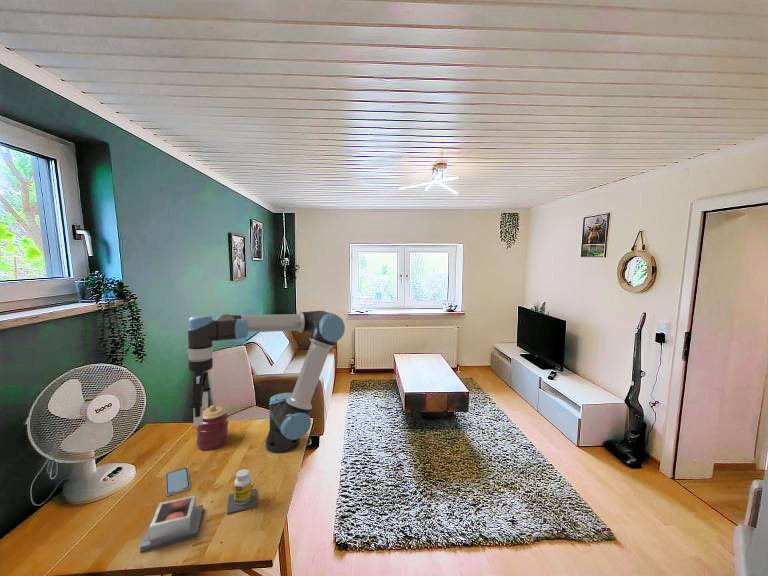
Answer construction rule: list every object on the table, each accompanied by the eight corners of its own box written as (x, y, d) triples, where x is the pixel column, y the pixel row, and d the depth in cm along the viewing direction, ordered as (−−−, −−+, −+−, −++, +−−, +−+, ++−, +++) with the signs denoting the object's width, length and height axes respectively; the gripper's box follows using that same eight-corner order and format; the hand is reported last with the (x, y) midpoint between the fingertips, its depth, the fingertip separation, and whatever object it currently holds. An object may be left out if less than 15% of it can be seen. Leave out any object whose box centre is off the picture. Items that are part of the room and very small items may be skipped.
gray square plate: (256, 489, 115) (256, 488, 115) (256, 507, 106) (256, 505, 106) (229, 496, 111) (228, 494, 111) (226, 514, 103) (226, 512, 103)
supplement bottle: (232, 506, 105) (232, 478, 105) (235, 495, 111) (235, 468, 110) (250, 503, 107) (250, 476, 106) (252, 493, 112) (252, 466, 112)
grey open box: (203, 508, 105) (203, 491, 105) (197, 537, 94) (197, 517, 94) (152, 520, 100) (152, 502, 99) (140, 552, 89) (139, 531, 88)
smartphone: (187, 466, 127) (190, 487, 115) (187, 469, 127) (190, 489, 115) (165, 473, 122) (166, 495, 110) (165, 475, 122) (166, 497, 110)
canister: (207, 435, 152) (207, 399, 151) (233, 436, 151) (233, 400, 150) (189, 450, 139) (189, 411, 138) (218, 451, 138) (218, 412, 137)
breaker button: (185, 514, 100) (185, 510, 100) (182, 526, 95) (182, 521, 95) (166, 519, 98) (166, 514, 98) (162, 531, 94) (162, 526, 94)
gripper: (194, 351, 123) (195, 404, 124) (181, 370, 100) (181, 434, 101) (216, 349, 126) (216, 401, 127) (207, 367, 103) (208, 430, 104)
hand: (201, 416), depth 114 cm, fingers open, 13 cm apart
